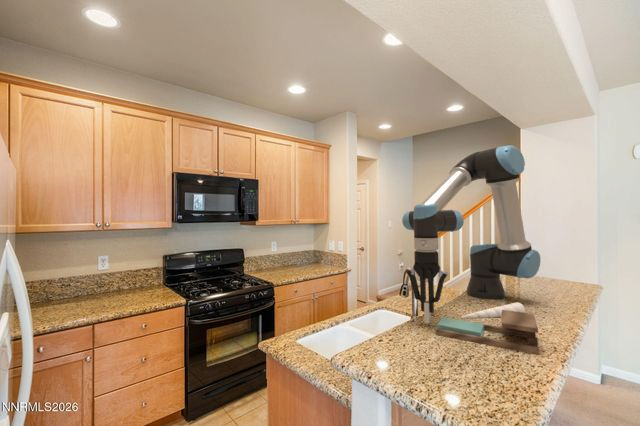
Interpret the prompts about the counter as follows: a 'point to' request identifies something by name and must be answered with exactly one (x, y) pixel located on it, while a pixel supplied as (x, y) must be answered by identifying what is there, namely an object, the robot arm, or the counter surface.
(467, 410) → the counter surface
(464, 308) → the counter surface
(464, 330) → the tile
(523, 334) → the overhang
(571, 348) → the counter surface
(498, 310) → the unicorn horn
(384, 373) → the counter surface
